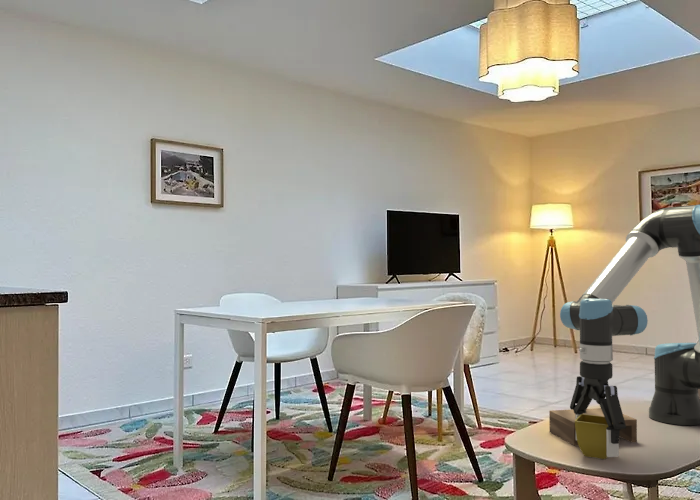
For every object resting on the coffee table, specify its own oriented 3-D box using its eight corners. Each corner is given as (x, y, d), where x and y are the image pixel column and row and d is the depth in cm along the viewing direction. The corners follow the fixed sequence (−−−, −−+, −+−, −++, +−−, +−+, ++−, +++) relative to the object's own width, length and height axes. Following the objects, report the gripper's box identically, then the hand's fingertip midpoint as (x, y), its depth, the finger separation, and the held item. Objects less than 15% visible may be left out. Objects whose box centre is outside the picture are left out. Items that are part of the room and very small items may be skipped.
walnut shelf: (608, 429, 176) (607, 408, 176) (636, 442, 163) (636, 419, 163) (549, 432, 173) (549, 410, 173) (574, 445, 160) (574, 422, 160)
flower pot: (581, 448, 158) (581, 413, 158) (618, 453, 153) (617, 417, 153) (574, 457, 150) (574, 420, 150) (613, 463, 146) (612, 425, 146)
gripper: (556, 354, 164) (556, 434, 163) (612, 370, 139) (612, 465, 139) (582, 353, 165) (582, 433, 165) (642, 369, 141) (642, 463, 140)
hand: (596, 448), depth 152 cm, fingers open, 13 cm apart
